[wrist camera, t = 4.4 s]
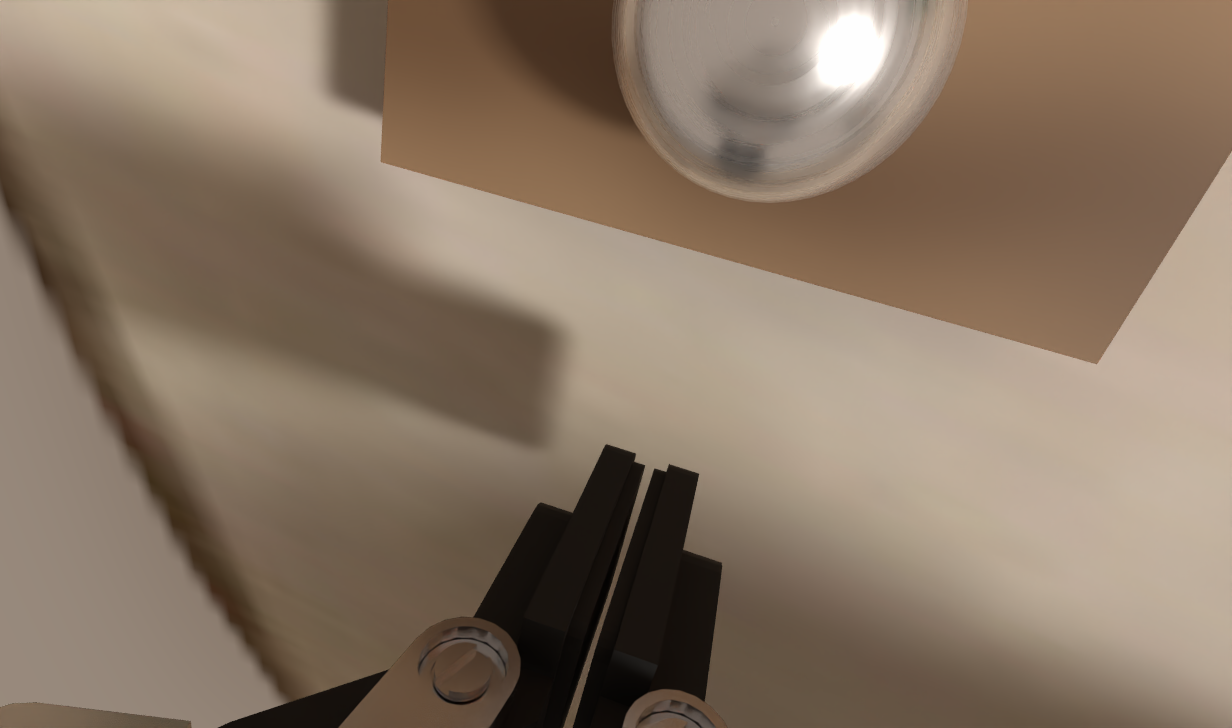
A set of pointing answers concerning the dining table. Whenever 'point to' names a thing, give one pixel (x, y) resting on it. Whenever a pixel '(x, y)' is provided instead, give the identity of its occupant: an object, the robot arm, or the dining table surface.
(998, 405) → the dining table surface
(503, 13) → the board
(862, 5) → the ball
